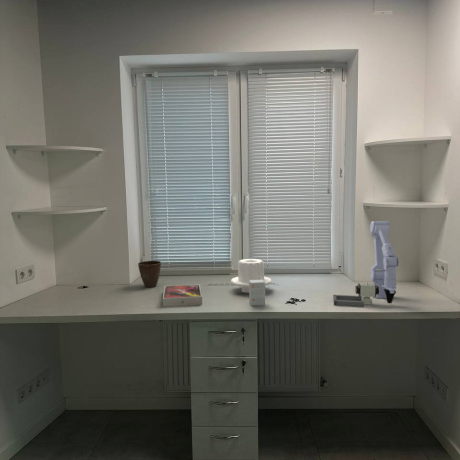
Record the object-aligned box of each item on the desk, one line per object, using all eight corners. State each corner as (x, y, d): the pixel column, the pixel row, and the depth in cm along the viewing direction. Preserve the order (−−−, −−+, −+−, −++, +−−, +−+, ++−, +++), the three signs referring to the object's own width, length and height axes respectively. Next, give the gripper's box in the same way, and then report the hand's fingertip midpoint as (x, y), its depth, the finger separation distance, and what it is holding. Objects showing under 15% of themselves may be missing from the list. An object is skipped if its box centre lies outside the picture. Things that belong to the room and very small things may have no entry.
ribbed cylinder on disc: (226, 294, 234) (225, 263, 232) (237, 284, 258) (237, 256, 255) (266, 297, 226) (266, 265, 224) (274, 286, 250) (274, 258, 248)
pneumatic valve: (378, 305, 208) (379, 283, 206) (356, 304, 209) (356, 283, 208) (376, 302, 213) (377, 281, 212) (354, 301, 215) (355, 280, 214)
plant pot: (135, 288, 250) (134, 264, 249) (144, 283, 265) (143, 260, 263) (157, 289, 248) (156, 265, 246) (165, 283, 262) (164, 260, 261)
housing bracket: (361, 300, 218) (361, 296, 217) (363, 306, 206) (364, 302, 206) (333, 298, 221) (333, 294, 221) (333, 305, 209) (334, 300, 209)
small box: (263, 301, 218) (263, 279, 216) (265, 305, 211) (265, 282, 210) (249, 302, 217) (248, 279, 215) (250, 305, 210) (250, 282, 209)
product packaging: (199, 292, 242) (199, 284, 242) (202, 305, 215) (202, 296, 214) (164, 293, 240) (164, 285, 239) (163, 307, 212) (162, 298, 211)
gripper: (380, 275, 215) (379, 298, 216) (384, 281, 201) (383, 306, 202) (393, 275, 213) (393, 299, 215) (399, 281, 199) (398, 307, 201)
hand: (389, 302), depth 209 cm, fingers closed
